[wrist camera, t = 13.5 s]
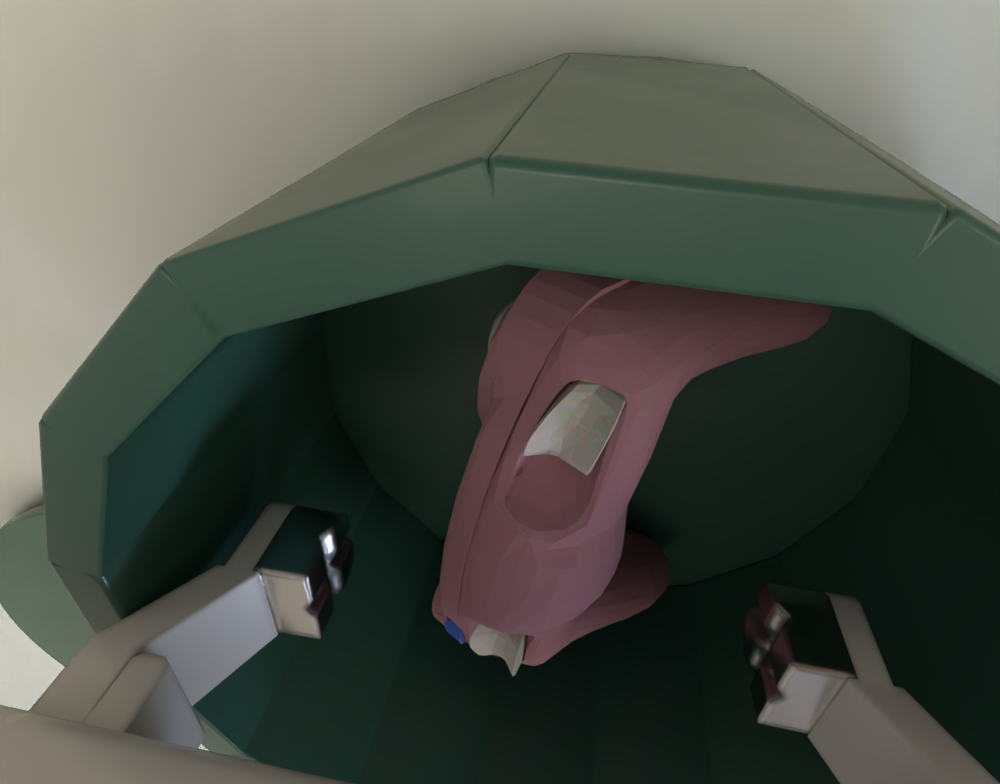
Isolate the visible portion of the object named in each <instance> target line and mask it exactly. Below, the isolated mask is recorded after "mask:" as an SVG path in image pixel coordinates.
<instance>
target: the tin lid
mask: <svg viewBox="0 0 1000 784" xmlns="http://www.w3.org/2000/svg"><path fill="white" fill-rule="evenodd" d="M0 604H1V605H2V607H3V608H4V609H5V611H6V612H7V614H8V615H9V616H10V617H11V618H12V620H13V621H14V622H15V623H16V624H17V625H18V627H19V628H20V629H21V630H22V631H23V632H24V633H25V634H26V635H27V636H28V637H29V638H30V639H31V640H32V641H34V642H35V643H36V644H37V645H38V646H39V647H41V648H42V649H43V650H44V651H45V652H46V653H47V654H49V655H50V656H51V657H53V658H54V659H55V660H57V661H58V662H59V663H61V664H62V665H63V666H65V667H66V666H67V664H68V663H69V662H70V661H71V660H72V658H73V657H74V656H75V655H76V654H77V652H78V651H79V650H80V649H81V648H82V646H83V645H84V644H85V643H86V642H87V640H88V639H89V638H91V637H93V636H94V635H95V634H94V632H93V630H92V629H91V627H90V626H89V624H88V622H87V621H86V619H85V618H84V616H83V615H82V613H81V611H80V610H79V608H78V607H77V605H76V603H75V602H74V600H73V599H72V597H71V596H70V594H69V592H68V591H67V589H66V588H65V586H64V584H63V583H62V581H61V580H60V578H59V577H58V575H57V573H56V572H55V570H54V569H53V567H52V565H51V564H50V561H48V560H47V552H46V535H45V518H44V505H42V506H38V507H34V508H31V509H29V510H27V511H25V512H22V513H20V514H18V515H16V516H15V517H14V518H13V519H11V520H10V521H9V522H8V523H7V524H5V525H4V526H3V527H2V528H1V529H0Z"/></svg>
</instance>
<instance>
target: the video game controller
mask: <svg viewBox="0 0 1000 784" xmlns="http://www.w3.org/2000/svg"><path fill="white" fill-rule="evenodd" d="M832 307H833V306H828V305H821V304H813V303H805V302H797V301H789V300H781V299H774V298H766V297H758V296H750V295H742V294H735V293H727V292H719V291H711V290H703V289H695V288H688V287H680V286H672V285H664V284H656V283H648V282H641V281H633V280H625V279H617V278H609V277H602V276H594V275H586V274H578V273H570V272H562V271H555V270H547V269H541V270H540V271H539V272H538V273H537V274H536V275H535V276H534V277H533V278H532V279H531V280H530V281H529V282H528V283H527V284H526V285H525V287H524V288H523V289H522V291H521V293H520V294H519V296H518V297H517V299H515V300H513V301H511V302H509V304H508V305H507V306H506V307H505V308H504V309H503V310H502V311H501V312H500V313H499V314H498V315H497V317H496V319H495V320H494V322H493V325H492V327H491V331H490V334H489V340H488V353H487V356H486V359H485V362H484V365H483V368H482V371H481V374H480V377H479V386H478V402H477V411H478V414H479V416H480V419H481V422H482V427H481V429H480V432H479V434H478V437H477V439H476V441H475V444H474V447H473V450H472V453H471V456H470V458H469V461H468V464H467V467H466V470H465V472H464V475H463V478H462V481H461V484H460V486H459V489H458V492H457V495H456V499H455V503H454V507H453V511H452V515H451V519H450V523H449V527H448V532H447V536H446V540H445V544H444V550H443V558H442V565H441V573H440V583H439V585H438V587H437V589H436V592H435V595H434V598H433V601H432V613H433V615H434V617H435V618H436V619H437V620H439V621H440V622H441V623H442V624H443V625H444V626H445V629H446V631H447V632H448V633H449V634H451V635H452V636H453V637H454V638H455V639H456V640H458V641H459V642H460V643H461V644H463V643H465V642H467V643H468V644H469V645H470V648H471V649H472V650H473V651H474V652H475V653H477V654H478V655H483V656H486V655H493V656H497V657H500V658H503V659H504V660H505V661H506V663H507V665H508V667H509V670H510V672H511V674H512V676H514V675H516V673H517V670H518V668H519V666H520V664H521V663H522V664H526V665H531V666H536V665H539V664H542V663H544V662H546V661H547V660H548V659H549V658H551V657H552V656H553V655H555V654H556V653H557V652H559V651H560V650H561V649H563V648H564V647H565V646H567V645H568V644H569V643H571V642H572V641H574V640H576V639H578V638H580V637H582V636H584V635H586V634H588V633H590V632H592V631H595V630H597V629H600V628H602V627H605V626H607V625H610V624H613V623H615V622H618V621H621V620H624V619H627V618H629V617H631V616H633V615H635V614H637V613H639V612H641V611H643V610H645V609H647V608H649V607H650V606H651V605H652V604H653V603H654V602H655V601H656V600H657V599H658V598H659V597H660V595H661V594H662V593H663V592H664V591H665V590H666V588H667V586H668V584H669V581H670V565H669V560H668V558H667V557H666V555H665V553H664V552H663V550H662V549H661V548H660V547H659V546H658V545H657V544H656V542H655V541H654V540H653V539H650V538H648V537H647V536H645V535H643V534H641V533H638V532H636V531H633V530H631V529H626V528H625V525H626V516H627V507H628V503H629V501H630V499H631V497H632V495H633V493H634V491H635V489H636V487H637V485H638V482H639V480H640V478H641V476H642V474H643V472H644V470H645V468H646V466H647V464H648V462H649V460H650V458H651V456H652V453H653V451H654V448H655V446H656V443H657V441H658V438H659V435H660V433H661V430H662V428H663V425H664V423H665V420H666V418H667V415H668V413H669V410H670V408H671V405H672V403H673V400H674V398H675V397H676V396H677V395H678V394H679V393H680V391H681V390H682V389H683V388H684V387H685V386H686V385H687V384H688V382H689V381H690V380H691V379H693V378H694V377H696V376H698V375H700V374H702V373H704V372H706V371H707V370H709V369H712V368H715V367H717V366H720V365H723V364H726V363H728V362H731V361H734V360H736V359H739V358H742V357H745V356H749V355H753V354H757V353H761V352H765V351H769V350H773V349H777V348H781V347H785V346H788V345H791V344H794V343H797V342H800V341H803V340H806V339H807V338H808V337H810V336H811V335H812V334H813V333H814V332H816V331H817V330H818V329H819V328H821V327H822V326H823V325H824V324H825V323H827V321H828V319H829V317H830V314H831V311H832Z"/></svg>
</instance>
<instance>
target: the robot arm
mask: <svg viewBox="0 0 1000 784" xmlns="http://www.w3.org/2000/svg"><path fill="white" fill-rule="evenodd" d="M349 528H350V523H349V518H348V515H345V514H341V513H335V512H330V511H325V510H320V509H315V508H309V507H304V506H299V505H293V504H287V503H281V502H276V501H273V502H272V503H271V504H269V505H268V506H266V507H265V509H264V510H263V512H262V513H261V515H260V516H259V517H258V519H257V520H256V522H255V523H254V525H253V526H252V527H251V529H250V530H249V532H248V533H247V535H246V536H245V537H244V539H243V540H242V542H241V543H240V544H239V546H238V547H237V549H236V550H235V552H234V553H233V554H232V556H231V557H230V559H229V560H228V562H227V563H226V564H225V566H224V565H216V566H214V567H212V568H211V569H209V570H207V571H205V572H204V573H202V574H200V575H199V576H197V577H195V578H193V579H192V580H190V581H188V582H186V583H185V584H183V585H181V586H179V587H178V588H176V589H174V590H172V591H171V592H169V593H167V594H166V595H164V596H162V597H160V598H159V599H157V600H155V601H153V602H152V603H150V604H148V605H146V606H145V607H143V608H141V609H139V610H138V611H136V612H134V613H132V614H131V615H129V616H127V617H126V618H124V619H122V620H120V621H119V622H117V623H115V624H113V625H112V626H110V627H108V628H106V629H105V630H103V631H101V632H99V633H98V634H96V635H94V636H93V637H91V638H89V639H88V640H87V642H86V643H85V644H84V645H83V646H82V648H81V649H80V650H79V651H78V652H77V654H76V655H75V656H74V657H73V658H72V660H71V661H70V662H69V663H68V664H67V666H66V667H65V668H64V669H63V670H62V672H61V673H60V674H59V675H58V676H57V678H56V679H55V680H54V681H53V682H52V684H51V685H50V686H49V687H48V688H47V690H46V691H45V692H44V693H43V694H42V696H41V697H40V698H39V699H38V700H37V702H36V703H35V704H34V705H33V706H32V708H31V709H30V710H29V711H25V710H21V709H16V708H12V707H7V706H3V705H0V784H355V783H350V782H346V781H341V780H337V779H332V778H328V777H323V776H319V775H314V774H310V773H305V772H301V771H296V770H292V769H287V768H283V767H278V766H274V765H269V764H265V763H260V762H256V761H251V760H247V759H242V758H238V757H233V756H229V755H224V754H220V753H215V752H210V751H206V750H201V749H198V748H199V746H200V744H201V742H202V740H203V738H204V737H205V732H204V728H203V726H202V724H201V722H200V720H199V718H198V716H197V714H196V713H195V711H194V709H193V707H192V706H193V705H194V704H195V703H197V702H198V701H199V700H200V699H201V698H203V697H204V696H205V695H206V694H207V693H209V692H210V691H211V690H212V689H213V688H215V687H216V686H217V685H218V684H219V683H221V682H222V681H223V680H224V679H225V678H227V677H228V676H229V675H230V674H231V673H233V672H234V671H235V670H236V669H237V668H239V667H240V666H241V665H242V664H243V663H245V662H246V661H247V660H248V659H249V658H251V657H252V656H253V655H254V654H255V653H257V652H258V651H259V650H260V649H261V648H263V647H264V646H265V645H266V644H267V643H269V642H270V641H271V640H272V639H273V638H275V637H276V636H277V635H278V632H281V633H287V634H294V635H300V636H306V637H312V638H318V639H320V638H321V636H322V634H323V632H324V630H325V628H326V626H327V623H328V621H329V619H330V617H331V615H332V613H333V611H334V609H335V608H334V603H333V598H332V597H333V596H334V595H336V594H337V593H339V592H340V591H341V590H343V589H344V587H345V585H346V583H347V581H348V578H349V576H350V572H351V568H352V564H353V558H354V548H353V542H352V541H351V540H350V539H349V538H348V537H347V536H346V534H347V532H348V530H349ZM756 595H757V599H758V604H759V605H757V606H755V607H753V608H751V609H749V611H748V614H747V616H746V619H745V621H744V628H743V650H744V656H745V661H746V662H747V664H748V665H749V666H750V667H751V669H752V670H753V671H754V672H755V673H756V675H755V677H754V679H753V680H752V682H751V684H750V688H751V693H752V699H753V704H754V709H755V714H756V719H757V723H761V724H765V725H770V726H774V727H779V728H784V729H788V730H793V731H797V732H802V733H806V734H809V735H808V738H809V739H810V741H811V742H812V744H813V745H814V746H815V748H816V749H817V751H818V752H819V754H820V755H821V757H822V758H823V759H824V761H825V762H826V764H827V765H828V767H829V768H830V769H831V771H832V772H833V774H834V775H835V777H836V778H837V779H838V781H839V782H840V784H1000V783H999V782H998V781H997V780H996V779H995V778H994V777H993V776H992V775H991V774H990V773H989V772H988V771H987V770H986V769H985V768H984V767H983V766H982V765H981V764H980V763H979V762H978V761H977V760H976V759H975V758H974V757H972V756H971V755H970V754H969V753H968V752H967V751H966V750H965V749H964V748H963V747H962V746H961V745H960V744H959V743H958V742H957V741H956V740H955V739H954V738H953V737H952V736H951V735H950V734H949V733H948V732H947V731H946V730H945V729H944V728H943V727H942V726H941V725H940V724H939V723H938V722H937V721H936V720H935V719H934V718H933V717H932V716H931V715H930V714H929V713H928V712H927V711H926V710H925V709H924V708H923V707H922V706H921V705H920V704H919V703H918V702H917V701H916V700H915V699H914V698H913V697H912V696H911V695H910V694H909V693H908V692H907V691H906V690H905V689H904V688H901V687H897V686H894V685H893V683H892V680H891V678H890V675H889V673H888V670H887V668H886V665H885V663H884V660H883V658H882V655H881V653H880V650H879V648H878V645H877V643H876V640H875V638H874V636H873V633H872V631H871V628H870V626H869V623H868V621H867V618H866V616H865V613H864V611H863V608H862V606H861V603H860V602H859V601H858V600H857V599H856V597H853V596H847V595H841V594H835V593H829V592H822V591H820V590H813V589H806V588H800V587H793V586H787V585H780V584H773V583H767V582H766V583H764V584H763V585H761V587H760V589H759V591H758V592H757V594H756Z"/></svg>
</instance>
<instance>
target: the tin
mask: <svg viewBox="0 0 1000 784" xmlns="http://www.w3.org/2000/svg"><path fill="white" fill-rule="evenodd" d="M541 269H547V270H555V271H562V272H570V273H578V274H586V275H594V276H602V277H609V278H617V279H625V280H633V281H641V282H648V283H656V284H664V285H672V286H680V287H688V288H695V289H703V290H711V291H719V292H727V293H735V294H742V295H750V296H758V297H766V298H774V299H781V300H789V301H797V302H805V303H813V304H821V305H828V306H833V307H832V311H831V314H830V317H829V319H828V321H827V323H825V324H824V325H823V326H822V327H821V328H819V329H818V330H817V331H816V332H814V333H813V334H812V335H811V336H810V337H808V338H807V339H806V340H803V341H800V342H797V343H794V344H791V345H788V346H785V347H781V348H777V349H773V350H769V351H765V352H761V353H757V354H753V355H749V356H745V357H742V358H739V359H736V360H734V361H731V362H728V363H726V364H723V365H720V366H717V367H715V368H712V369H709V370H707V371H706V372H704V373H702V374H700V375H698V376H696V377H694V378H693V379H691V380H690V381H689V382H688V384H687V385H686V386H685V387H684V388H683V389H682V390H681V391H680V393H679V394H678V395H677V396H676V397H675V398H674V400H673V403H672V405H671V408H670V410H669V413H668V415H667V418H666V420H665V423H664V425H663V428H662V430H661V433H660V435H659V438H658V441H657V443H656V446H655V448H654V451H653V453H652V456H651V458H650V460H649V462H648V464H647V466H646V468H645V470H644V472H643V474H642V476H641V478H640V480H639V482H638V485H637V487H636V489H635V491H634V493H633V495H632V497H631V499H630V501H629V503H628V507H627V516H626V525H625V528H626V529H631V530H633V531H636V532H638V533H641V534H643V535H645V536H647V537H648V538H650V539H653V540H654V541H655V542H656V544H657V545H658V546H659V547H660V548H661V549H662V550H663V552H664V553H665V555H666V557H667V558H668V560H669V565H670V581H669V584H668V586H667V588H666V590H665V591H664V592H663V593H662V594H661V595H660V597H659V598H658V599H657V600H656V601H655V602H654V603H653V604H652V605H651V606H650V607H649V608H647V609H645V610H643V611H641V612H639V613H637V614H635V615H633V616H631V617H629V618H627V619H624V620H621V621H618V622H615V623H613V624H610V625H607V626H605V627H602V628H600V629H597V630H595V631H592V632H590V633H588V634H586V635H584V636H582V637H580V638H578V639H576V640H574V641H572V642H571V643H569V644H568V645H567V646H565V647H564V648H563V649H561V650H560V651H559V652H557V653H556V654H555V655H553V656H552V657H551V658H549V659H548V660H547V661H546V662H544V663H542V664H539V665H536V666H531V665H526V664H522V663H521V664H520V666H519V668H518V670H517V673H516V675H514V676H512V674H511V672H510V670H509V667H508V665H507V663H506V661H505V660H504V659H503V658H500V657H497V656H493V655H486V656H483V655H478V654H477V653H475V652H474V651H473V650H472V649H471V648H470V645H469V644H468V643H467V642H465V643H463V644H461V643H460V642H459V641H458V640H456V639H455V638H454V637H453V636H452V635H451V634H449V633H448V632H447V631H446V629H445V626H444V625H443V624H442V623H441V622H440V621H439V620H437V619H436V618H435V617H434V615H433V613H432V601H433V598H434V595H435V592H436V589H437V587H438V585H439V583H440V573H441V565H442V558H443V550H444V544H445V540H446V536H447V532H448V527H449V523H450V519H451V515H452V511H453V507H454V503H455V499H456V495H457V492H458V489H459V486H460V484H461V481H462V478H463V475H464V472H465V470H466V467H467V464H468V461H469V458H470V456H471V453H472V450H473V447H474V444H475V441H476V439H477V437H478V434H479V432H480V429H481V427H482V422H481V419H480V416H479V414H478V411H477V402H478V386H479V377H480V374H481V371H482V368H483V365H484V362H485V359H486V356H487V353H488V340H489V334H490V331H491V327H492V325H493V322H494V320H495V319H496V317H497V315H498V314H499V313H500V312H501V311H502V310H503V309H504V308H505V307H506V306H507V305H508V304H509V302H511V301H513V300H515V299H517V297H518V296H519V294H520V293H521V291H522V289H523V288H524V287H525V285H526V284H527V283H528V282H529V281H530V280H531V279H532V278H533V277H534V276H535V275H536V274H537V273H538V272H539V271H540V270H541ZM39 430H40V448H41V465H42V483H43V500H44V518H45V535H46V552H47V560H48V561H50V564H51V565H52V567H53V569H54V570H55V572H56V573H57V575H58V577H59V578H60V580H61V581H62V583H63V584H64V586H65V588H66V589H67V591H68V592H69V594H70V596H71V597H72V599H73V600H74V602H75V603H76V605H77V607H78V608H79V610H80V611H81V613H82V615H83V616H84V618H85V619H86V621H87V622H88V624H89V626H90V627H91V629H92V630H93V632H94V634H95V635H96V634H98V633H99V632H101V631H103V630H105V629H106V628H108V627H110V626H112V625H113V624H115V623H117V622H119V621H120V620H122V619H124V618H126V617H127V616H129V615H131V614H132V613H134V612H136V611H138V610H139V609H141V608H143V607H145V606H146V605H148V604H150V603H152V602H153V601H155V600H157V599H159V598H160V597H162V596H164V595H166V594H167V593H169V592H171V591H172V590H174V589H176V588H178V587H179V586H181V585H183V584H185V583H186V582H188V581H190V580H192V579H193V578H195V577H197V576H199V575H200V574H202V573H204V572H205V571H207V570H209V569H211V568H212V567H214V566H216V565H224V566H225V564H226V563H227V562H228V560H229V559H230V557H231V556H232V554H233V553H234V552H235V550H236V549H237V547H238V546H239V544H240V543H241V542H242V540H243V539H244V537H245V536H246V535H247V533H248V532H249V530H250V529H251V527H252V526H253V525H254V523H255V522H256V520H257V519H258V517H259V516H260V515H261V513H262V512H263V510H264V509H265V507H266V506H268V505H269V504H271V503H272V502H273V501H276V502H281V503H287V504H293V505H299V506H304V507H309V508H315V509H320V510H325V511H330V512H335V513H341V514H345V515H348V518H349V523H350V528H349V530H348V532H347V534H346V536H347V537H348V538H349V539H350V540H351V541H352V542H353V548H354V558H353V564H352V568H351V572H350V576H349V578H348V581H347V583H346V585H345V587H344V589H343V590H341V591H340V592H339V593H337V594H336V595H334V596H333V597H332V598H333V603H334V608H335V609H334V611H333V613H332V615H331V617H330V619H329V621H328V623H327V626H326V628H325V630H324V632H323V634H322V636H321V638H320V639H318V638H312V637H306V636H300V635H294V634H287V633H281V632H278V635H277V636H276V637H275V638H273V639H272V640H271V641H270V642H269V643H267V644H266V645H265V646H264V647H263V648H261V649H260V650H259V651H258V652H257V653H255V654H254V655H253V656H252V657H251V658H249V659H248V660H247V661H246V662H245V663H243V664H242V665H241V666H240V667H239V668H237V669H236V670H235V671H234V672H233V673H231V674H230V675H229V676H228V677H227V678H225V679H224V680H223V681H222V682H221V683H219V684H218V685H217V686H216V687H215V688H213V689H212V690H211V691H210V692H209V693H207V694H206V695H205V696H204V697H203V698H201V699H200V700H199V701H198V702H197V703H195V704H194V705H193V706H192V707H193V709H194V711H195V713H196V714H197V716H198V718H199V720H200V722H201V724H202V726H203V728H204V732H205V737H204V738H203V740H202V742H201V744H202V745H203V746H205V747H206V748H207V749H208V750H209V751H210V752H215V753H220V754H224V755H229V756H233V757H238V758H242V759H247V760H251V761H256V762H260V763H265V764H269V765H274V766H278V767H283V768H287V769H292V770H296V771H301V772H305V773H310V774H314V775H319V776H323V777H328V778H332V779H337V780H341V781H346V782H350V783H355V784H840V782H839V781H838V779H837V778H836V777H835V775H834V774H833V772H832V771H831V769H830V768H829V767H828V765H827V764H826V762H825V761H824V759H823V758H822V757H821V755H820V754H819V752H818V751H817V749H816V748H815V746H814V745H813V744H812V742H811V741H810V739H809V738H808V735H809V734H806V733H802V732H797V731H793V730H788V729H784V728H779V727H774V726H770V725H765V724H761V723H757V719H756V714H755V709H754V704H753V699H752V693H751V688H750V684H751V682H752V680H753V679H754V677H755V675H756V673H755V672H754V671H753V670H752V669H751V667H750V666H749V665H748V664H747V662H746V661H745V656H744V650H743V628H744V621H745V619H746V616H747V614H748V611H749V609H751V608H753V607H755V606H757V605H759V604H758V599H757V595H756V594H757V592H758V591H759V589H760V587H761V585H763V584H764V583H766V582H767V583H773V584H780V585H787V586H793V587H800V588H806V589H813V590H820V591H822V592H829V593H835V594H841V595H847V596H853V597H856V599H857V600H858V601H859V602H860V603H861V606H862V608H863V611H864V613H865V616H866V618H867V621H868V623H869V626H870V628H871V631H872V633H873V636H874V638H875V640H876V643H877V645H878V648H879V650H880V653H881V655H882V658H883V660H884V663H885V665H886V668H887V670H888V673H889V675H890V678H891V680H892V683H893V685H894V686H897V687H901V688H904V689H905V690H906V691H907V692H908V693H909V694H910V695H911V696H912V697H913V698H914V699H915V700H916V701H917V702H918V703H919V704H920V705H921V706H922V707H923V708H924V709H925V710H926V711H927V712H928V713H929V714H930V715H931V716H932V717H933V718H934V719H935V720H936V721H937V722H938V723H939V724H940V725H941V726H942V727H943V728H944V729H945V730H946V731H947V732H948V733H949V734H950V735H951V736H952V737H953V738H954V739H955V740H956V741H957V742H958V743H959V744H960V745H961V746H962V747H963V748H964V749H965V750H966V751H967V752H968V753H969V754H970V755H971V756H972V757H974V758H975V759H976V760H977V761H978V762H979V763H980V764H981V765H982V766H983V767H984V768H985V769H986V770H987V771H988V772H989V773H990V774H991V775H992V776H993V777H994V778H995V779H996V780H997V781H998V782H999V783H1000V225H999V224H998V223H996V222H995V221H993V220H992V219H990V218H988V217H987V216H985V215H984V214H982V213H981V212H979V211H978V210H976V209H974V208H973V207H971V206H970V205H968V204H967V203H965V202H964V201H962V200H960V199H959V198H957V197H956V196H954V195H953V194H951V193H950V192H948V191H946V190H945V189H943V188H942V187H940V186H939V185H937V184H936V183H934V182H932V181H931V180H929V179H928V178H926V177H925V176H923V175H922V174H920V173H918V172H917V171H915V170H914V169H912V168H911V167H909V166H908V165H906V164H904V163H903V162H901V161H900V160H898V159H897V158H895V157H893V156H892V155H890V154H889V153H887V152H885V151H884V150H882V149H881V148H879V147H877V146H876V145H874V144H873V143H871V142H869V141H868V140H866V139H865V138H863V137H861V136H860V135H858V134H857V133H855V132H853V131H852V130H850V129H849V128H847V127H845V126H844V125H842V124H840V123H839V122H837V121H836V120H834V119H832V118H831V117H829V116H828V115H826V114H824V113H823V112H821V111H820V110H818V109H816V108H815V107H813V106H812V105H810V104H808V103H807V102H805V101H804V100H802V99H800V98H799V97H797V96H795V95H794V94H792V93H791V92H789V91H787V90H786V89H784V88H783V87H781V86H779V85H778V84H776V83H775V82H773V81H771V80H770V79H768V78H767V77H765V76H763V75H762V74H760V73H759V72H757V71H755V70H749V69H747V68H746V67H735V66H723V65H711V64H700V63H691V62H685V61H679V60H672V59H666V58H660V57H618V56H607V55H595V54H583V53H573V54H571V55H570V54H569V53H566V54H564V55H561V56H558V57H556V58H553V59H550V60H547V61H545V62H542V63H539V64H537V65H534V66H531V67H529V68H526V69H523V70H521V71H518V72H515V73H513V74H509V75H506V76H503V77H499V78H496V79H493V80H491V81H488V82H486V83H484V84H482V85H480V86H478V87H475V88H473V89H470V90H467V91H465V92H462V93H459V94H457V95H454V96H451V97H449V98H446V99H443V100H441V101H438V102H435V103H433V104H430V105H427V106H425V107H422V108H419V109H417V110H415V111H414V112H412V113H410V114H409V115H407V116H405V117H403V118H402V119H400V120H398V121H397V122H395V123H393V124H392V125H390V126H388V127H387V128H385V129H383V130H382V131H380V132H378V133H377V134H375V135H373V136H372V137H370V138H368V139H367V140H365V141H363V142H362V143H360V144H358V145H357V146H355V147H353V148H352V149H350V150H348V151H347V152H345V153H343V154H342V155H340V156H338V157H337V158H335V159H333V160H332V161H330V162H328V163H326V164H325V165H323V166H321V167H320V168H318V169H316V170H315V171H313V172H311V173H310V174H308V175H306V176H305V177H303V178H301V179H300V180H298V181H296V182H295V183H293V184H291V185H290V186H288V187H286V188H285V189H283V190H281V191H280V192H278V193H276V194H275V195H273V196H271V197H270V198H268V199H266V200H265V201H263V202H261V203H260V204H258V205H256V206H255V207H253V208H251V209H250V210H248V211H246V212H244V213H243V214H241V215H239V216H238V217H236V218H234V219H233V220H231V221H229V222H228V223H226V224H224V225H223V226H221V227H219V228H218V229H216V230H214V231H213V232H211V233H209V234H208V235H206V236H204V237H203V238H201V239H199V240H198V241H196V242H194V243H193V244H191V245H189V246H188V247H186V248H184V249H183V250H181V251H179V252H178V253H176V254H174V255H173V256H171V257H169V258H167V259H166V260H165V261H164V262H163V263H161V264H160V265H158V267H157V268H156V269H155V270H154V272H153V273H152V274H151V276H150V277H149V278H148V280H147V281H146V282H145V283H144V285H143V286H142V287H141V289H140V290H139V291H138V292H137V294H136V295H135V296H134V298H133V299H132V300H131V301H130V303H129V304H128V305H127V307H126V308H125V309H124V311H123V312H122V313H121V314H120V316H119V317H118V318H117V320H116V321H115V322H114V323H113V325H112V326H111V327H110V329H109V330H108V331H107V332H106V334H105V335H104V336H103V338H102V339H101V340H100V342H99V343H98V344H97V345H96V347H95V348H94V349H93V351H92V352H91V353H90V354H89V356H88V357H87V358H86V360H85V361H84V362H83V364H82V365H81V366H80V367H79V369H78V370H77V371H76V373H75V374H74V375H73V376H72V378H71V379H70V380H69V382H68V383H67V384H66V385H65V387H64V388H63V389H62V391H61V392H60V393H59V395H58V396H57V397H56V398H55V400H54V401H53V402H52V404H51V405H50V406H49V407H48V409H47V410H46V411H45V413H44V414H43V416H42V419H41V420H40V422H39Z"/></svg>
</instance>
